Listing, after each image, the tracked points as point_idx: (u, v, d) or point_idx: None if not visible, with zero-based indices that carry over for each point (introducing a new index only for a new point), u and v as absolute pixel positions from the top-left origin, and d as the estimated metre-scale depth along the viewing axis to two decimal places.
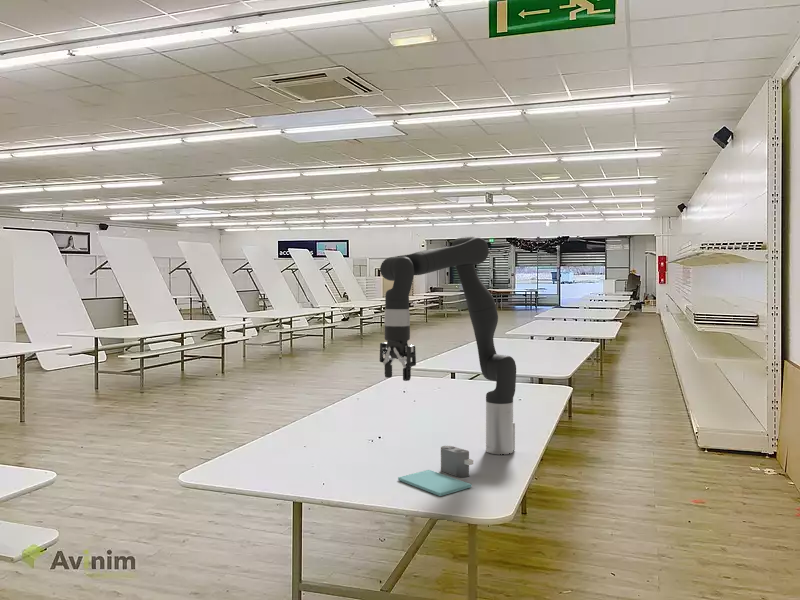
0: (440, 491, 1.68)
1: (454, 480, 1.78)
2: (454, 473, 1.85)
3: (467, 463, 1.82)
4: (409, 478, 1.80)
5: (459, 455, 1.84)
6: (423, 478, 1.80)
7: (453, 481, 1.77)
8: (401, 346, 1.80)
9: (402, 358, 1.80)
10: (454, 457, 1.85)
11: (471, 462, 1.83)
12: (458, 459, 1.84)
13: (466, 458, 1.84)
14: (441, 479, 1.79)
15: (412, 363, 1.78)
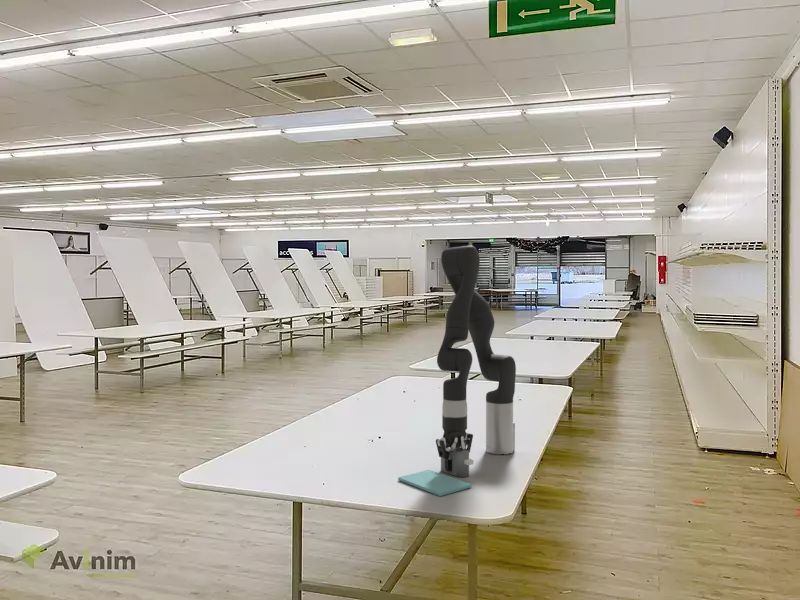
0: (440, 491, 1.68)
1: (454, 480, 1.78)
2: (454, 473, 1.85)
3: (467, 463, 1.82)
4: (409, 478, 1.80)
5: (459, 455, 1.84)
6: (423, 478, 1.80)
7: (453, 481, 1.77)
8: (465, 433, 1.89)
9: None
10: (454, 457, 1.85)
11: (471, 462, 1.83)
12: (458, 459, 1.84)
13: (466, 458, 1.84)
14: (441, 479, 1.79)
15: None
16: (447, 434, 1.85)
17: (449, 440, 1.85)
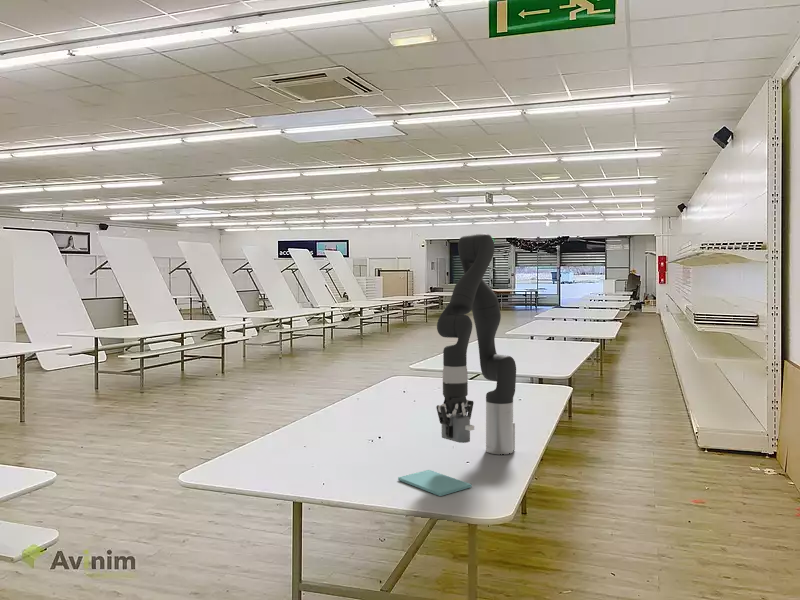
0: (440, 491, 1.68)
1: (454, 480, 1.78)
2: (455, 439, 1.85)
3: (468, 429, 1.82)
4: (409, 478, 1.80)
5: (460, 421, 1.84)
6: (423, 478, 1.80)
7: (453, 481, 1.77)
8: (465, 400, 1.89)
9: None
10: (455, 423, 1.85)
11: (472, 428, 1.83)
12: (459, 425, 1.84)
13: (467, 424, 1.84)
14: (441, 479, 1.79)
15: None
16: (448, 400, 1.85)
17: (450, 406, 1.85)
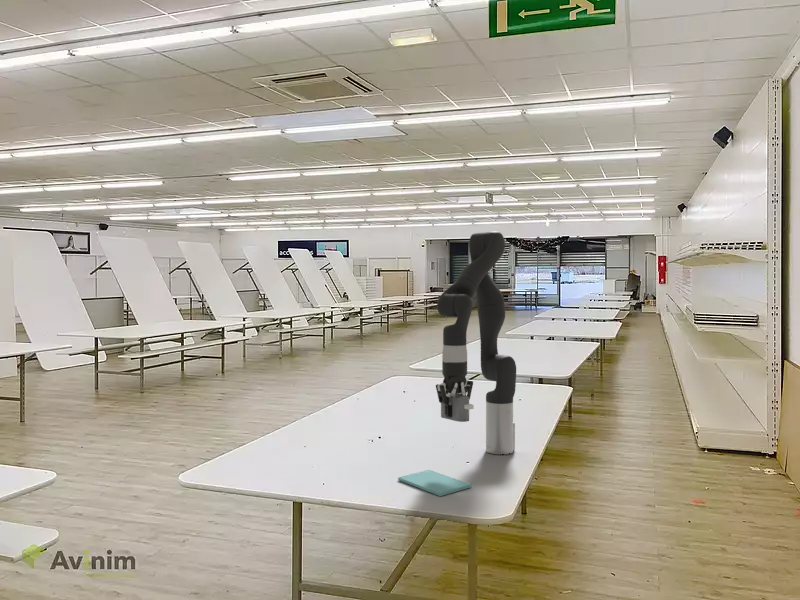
0: (440, 491, 1.68)
1: (454, 480, 1.78)
2: (454, 418, 1.85)
3: (467, 407, 1.82)
4: (409, 478, 1.80)
5: (459, 400, 1.83)
6: (423, 478, 1.80)
7: (453, 481, 1.77)
8: (465, 380, 1.89)
9: None
10: (454, 402, 1.85)
11: (471, 407, 1.83)
12: (458, 404, 1.84)
13: (466, 403, 1.84)
14: (441, 479, 1.79)
15: None
16: (447, 379, 1.85)
17: (449, 385, 1.85)
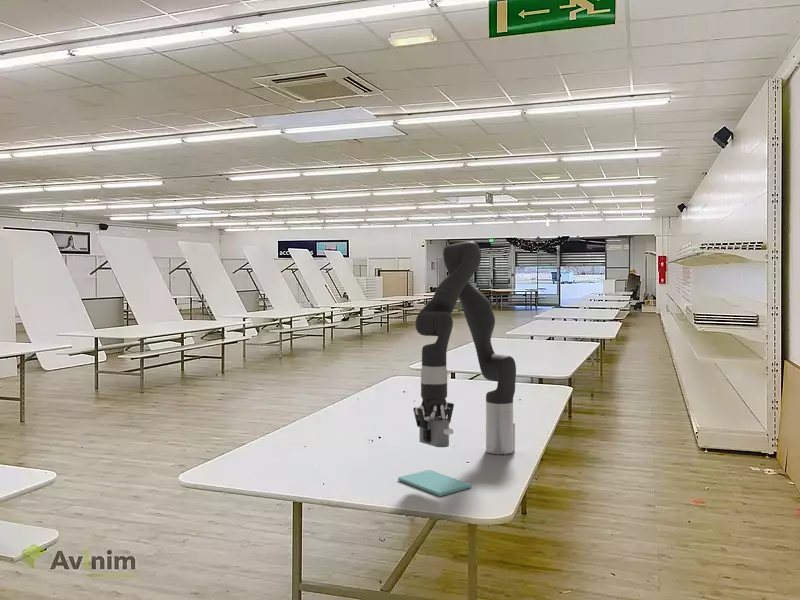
0: (440, 491, 1.68)
1: (454, 480, 1.78)
2: (433, 443, 1.74)
3: (446, 432, 1.72)
4: (409, 478, 1.80)
5: (438, 424, 1.73)
6: (423, 478, 1.80)
7: (453, 481, 1.77)
8: (445, 402, 1.78)
9: None
10: (433, 426, 1.74)
11: (451, 431, 1.72)
12: (437, 428, 1.73)
13: (446, 427, 1.73)
14: (441, 479, 1.79)
15: None
16: (426, 402, 1.74)
17: (428, 408, 1.74)
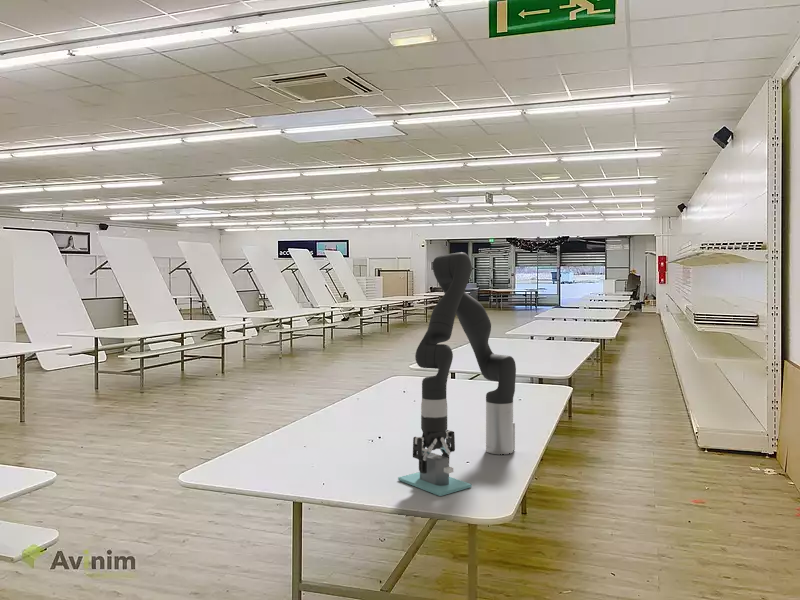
0: (440, 491, 1.68)
1: (454, 480, 1.78)
2: (433, 482, 1.74)
3: (447, 471, 1.72)
4: (409, 478, 1.80)
5: (438, 462, 1.73)
6: None
7: (453, 481, 1.77)
8: (445, 434, 1.78)
9: None
10: (433, 465, 1.74)
11: (451, 470, 1.72)
12: (438, 466, 1.73)
13: (446, 466, 1.73)
14: None
15: None
16: (426, 435, 1.74)
17: (428, 439, 1.74)
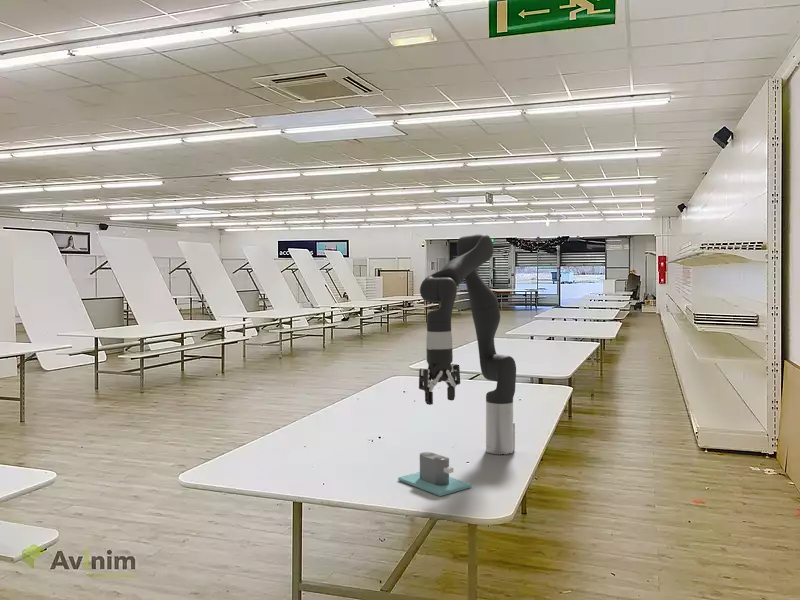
0: (440, 491, 1.68)
1: (454, 480, 1.78)
2: (433, 482, 1.74)
3: (447, 471, 1.72)
4: (409, 478, 1.80)
5: (438, 462, 1.73)
6: None
7: (453, 481, 1.77)
8: (450, 367, 1.81)
9: None
10: (433, 465, 1.74)
11: (451, 470, 1.72)
12: (438, 466, 1.73)
13: (446, 466, 1.73)
14: None
15: None
16: (432, 367, 1.77)
17: (434, 371, 1.77)
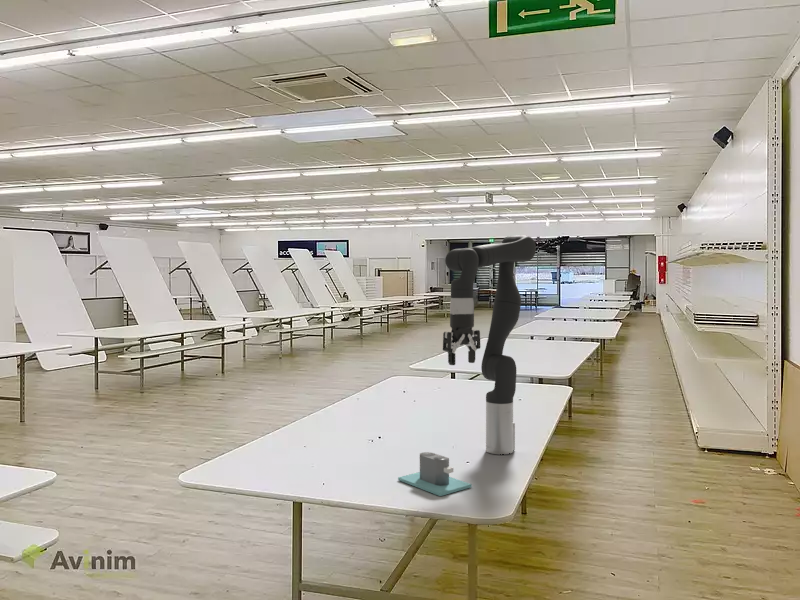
0: (440, 491, 1.68)
1: (454, 480, 1.78)
2: (433, 482, 1.74)
3: (447, 471, 1.72)
4: (409, 478, 1.80)
5: (438, 462, 1.73)
6: None
7: (453, 481, 1.77)
8: (471, 332, 1.96)
9: None
10: (433, 465, 1.74)
11: (451, 470, 1.72)
12: (438, 466, 1.73)
13: (446, 466, 1.73)
14: None
15: None
16: (455, 330, 1.92)
17: (457, 334, 1.92)
